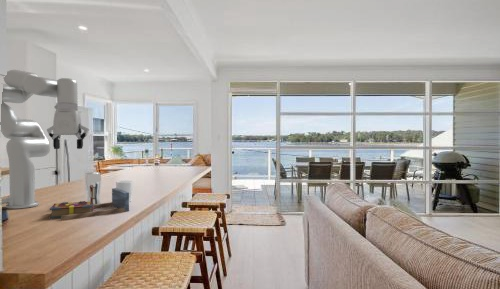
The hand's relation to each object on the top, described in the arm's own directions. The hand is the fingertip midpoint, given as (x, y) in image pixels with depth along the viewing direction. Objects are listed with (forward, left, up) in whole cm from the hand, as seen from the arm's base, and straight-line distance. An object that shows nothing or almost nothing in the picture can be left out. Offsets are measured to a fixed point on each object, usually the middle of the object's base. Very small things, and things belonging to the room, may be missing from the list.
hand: (68, 148), depth 141 cm
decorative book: (+1, -5, -28) cm, 28 cm away
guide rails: (+7, -6, -27) cm, 28 cm away
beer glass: (+13, +10, -27) cm, 32 cm away
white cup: (+27, +8, -27) cm, 39 cm away
